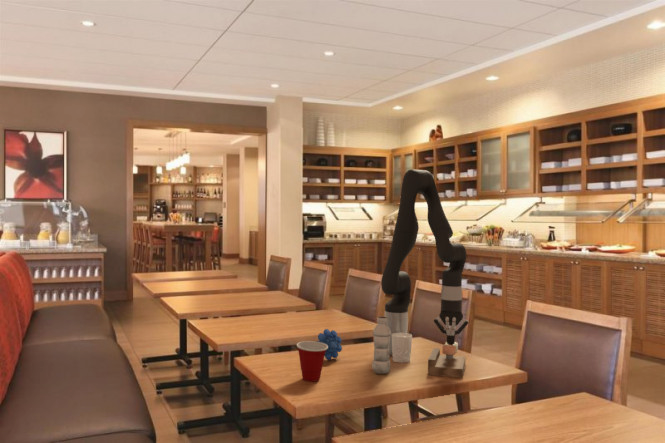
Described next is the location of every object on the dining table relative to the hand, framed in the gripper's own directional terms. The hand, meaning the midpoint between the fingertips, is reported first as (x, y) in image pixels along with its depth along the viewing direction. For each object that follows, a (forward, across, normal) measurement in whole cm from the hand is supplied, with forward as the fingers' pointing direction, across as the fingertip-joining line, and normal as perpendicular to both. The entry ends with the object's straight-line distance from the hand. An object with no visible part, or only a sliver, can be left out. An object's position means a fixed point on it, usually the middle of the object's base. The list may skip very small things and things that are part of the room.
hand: (450, 345), depth 211 cm
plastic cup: (+9, +44, +28) cm, 53 cm away
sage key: (+4, 0, 0) cm, 4 cm away
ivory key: (+5, 0, -6) cm, 8 cm away
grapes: (+9, +45, +2) cm, 46 cm away
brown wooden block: (+9, +1, 0) cm, 9 cm away
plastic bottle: (+9, +23, +13) cm, 28 cm away
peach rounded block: (+3, 0, +6) cm, 7 cm away
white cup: (+9, +19, -7) cm, 22 cm away
